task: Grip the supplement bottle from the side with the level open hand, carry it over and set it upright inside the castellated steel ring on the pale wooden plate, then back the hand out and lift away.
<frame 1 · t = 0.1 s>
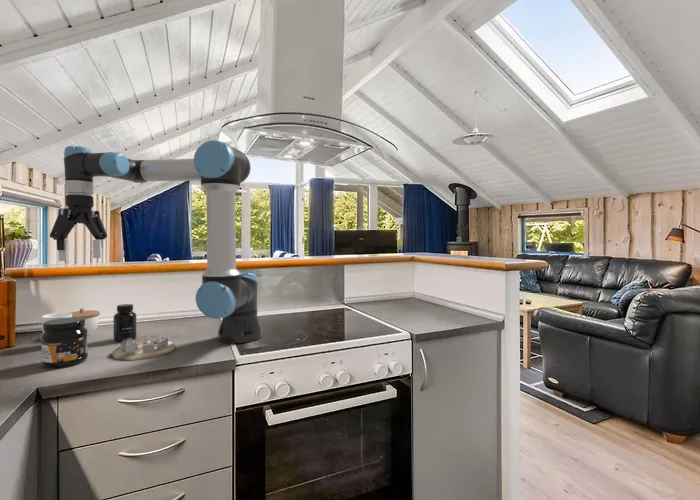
hand: (81, 259, 125), 28 cm above the counter, tool pointing down, fingers open, 13 cm apart
supplement container: (65, 363, 107), on the counter
white cup: (57, 346, 123), on the counter
seat plate: (144, 351, 118), on the counter
lidded jar: (82, 335, 137), on the counter
castellated ring: (144, 344, 118), on the seat plate, point 2 cm above the counter
supplement bottle: (125, 340, 130), on the counter
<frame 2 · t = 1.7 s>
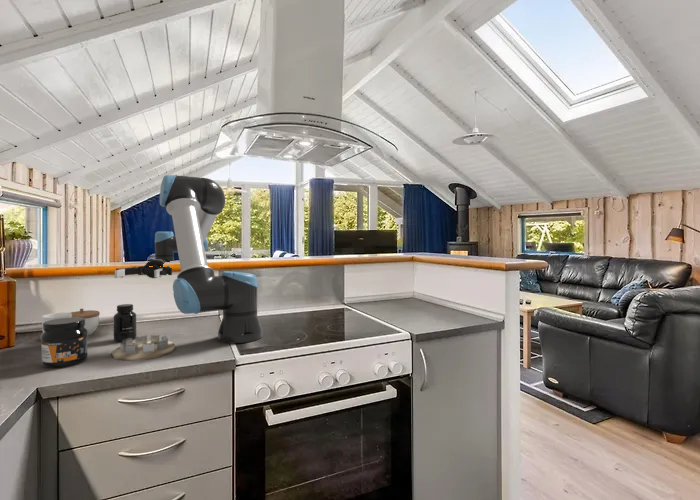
hand: (135, 274, 139), 22 cm above the counter, tool horizontal, fingers open, 13 cm apart
nothing on the counter moved.
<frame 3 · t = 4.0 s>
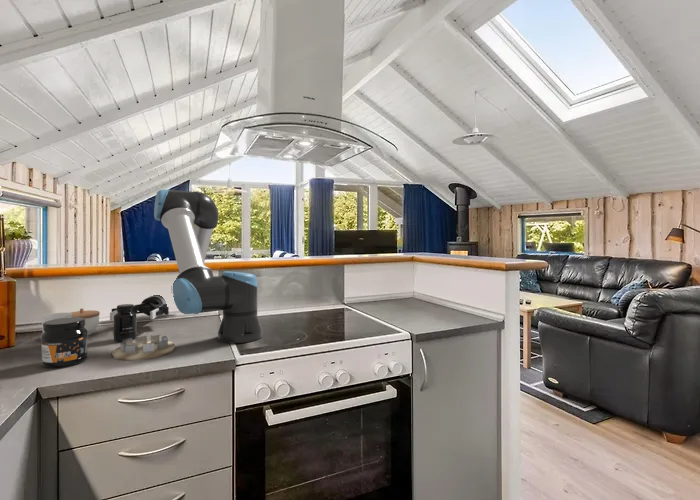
hand: (131, 316, 136), 7 cm above the counter, tool horizontal, fingers open, 13 cm apart
nothing on the counter moved.
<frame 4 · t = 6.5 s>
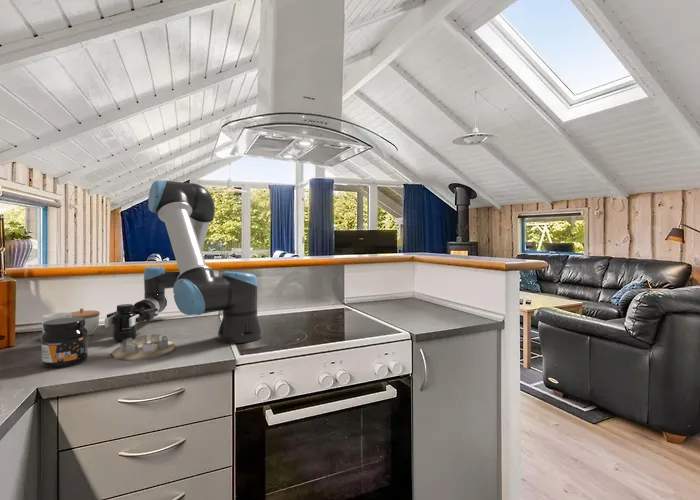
hand: (118, 322, 125), 7 cm above the counter, tool horizontal, fingers closed on supplement bottle, 7 cm apart
supplement bottle: (125, 340, 130), on the counter, touching gripper
everything else where it was.
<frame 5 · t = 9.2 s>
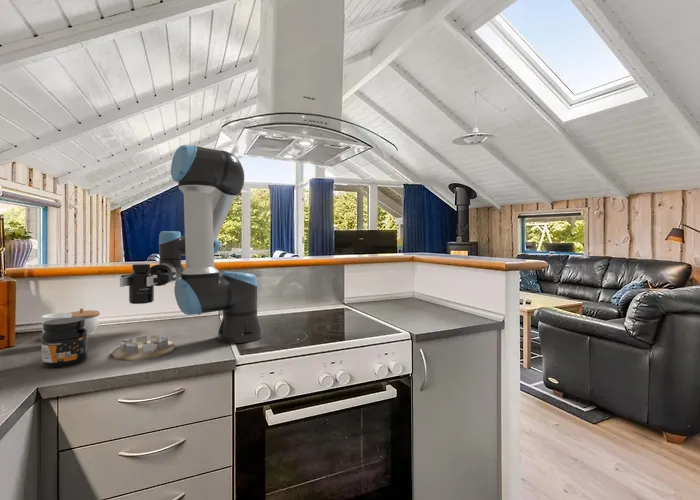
hand: (134, 282, 113), 22 cm above the counter, tool horizontal, fingers closed on supplement bottle, 7 cm apart
supplement bottle: (141, 303, 118), point 15 cm above the counter, touching gripper
everything else where it was.
when the fingers open (9 cm above the counter, at t = 12.2 s): supplement bottle drops 1 cm, resting on seat plate.
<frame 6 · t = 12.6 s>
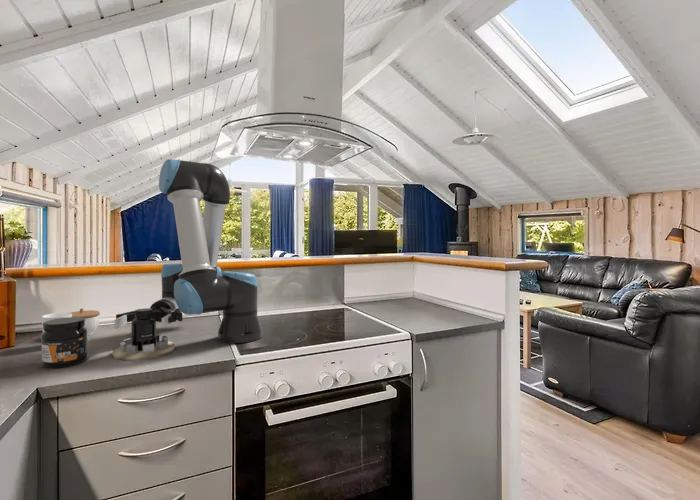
hand: (139, 323, 114), 10 cm above the counter, tool horizontal, fingers open, 13 cm apart
supplement bottle: (144, 348, 118), point 1 cm above the counter, touching seat plate
everything else where it was.
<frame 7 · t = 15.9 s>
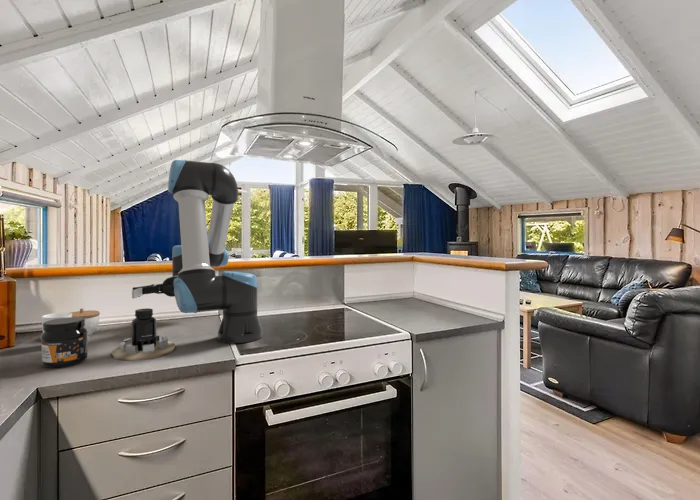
hand: (154, 294, 127), 16 cm above the counter, tool horizontal, fingers open, 13 cm apart
nothing on the counter moved.
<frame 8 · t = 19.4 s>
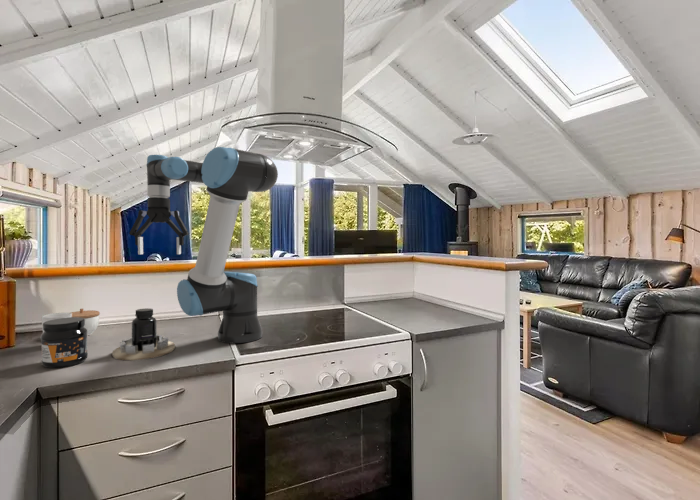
hand: (159, 254, 143), 29 cm above the counter, tool pointing down, fingers open, 13 cm apart
nothing on the counter moved.
at the end: supplement bottle 0.1 cm off-centre on the castellated ring, point 0.8 cm above the castellated ring's base; supplement bottle tilted 0°; the gripper is holding nothing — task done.
